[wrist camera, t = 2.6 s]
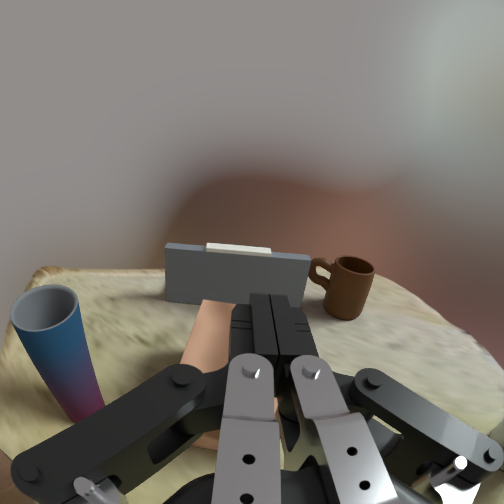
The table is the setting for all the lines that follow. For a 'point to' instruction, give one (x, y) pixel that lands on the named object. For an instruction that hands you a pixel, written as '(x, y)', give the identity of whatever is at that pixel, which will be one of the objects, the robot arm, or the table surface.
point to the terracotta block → (210, 351)
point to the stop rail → (232, 273)
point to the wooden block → (10, 484)
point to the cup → (58, 347)
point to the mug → (344, 284)
